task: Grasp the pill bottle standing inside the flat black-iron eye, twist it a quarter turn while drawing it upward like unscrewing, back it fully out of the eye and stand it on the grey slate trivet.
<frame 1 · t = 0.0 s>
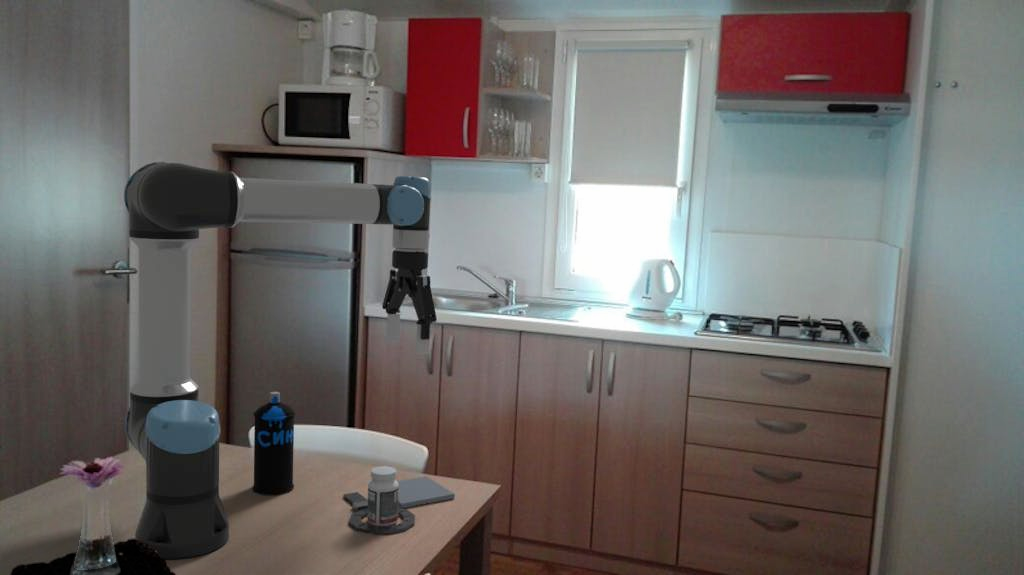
hand: (407, 348, 183), 28 cm above the table, fingers open, 13 cm apart
slate trivet: (414, 493, 175), on the table
pill bottle: (382, 522, 160), resting in iron eye
aerosol can: (273, 489, 174), on the table
iron eye: (382, 521, 160), on the table
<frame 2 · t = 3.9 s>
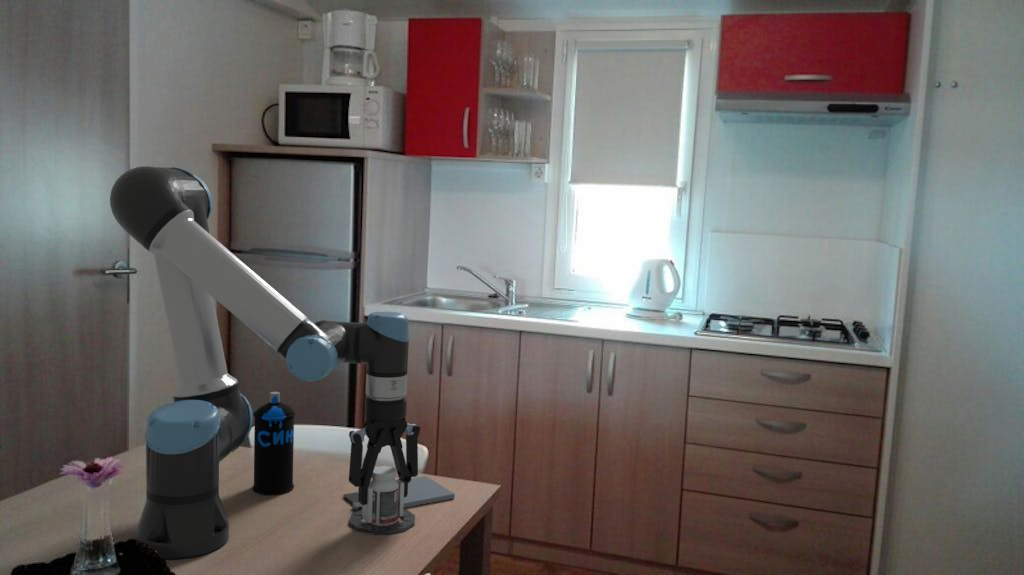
hand: (382, 516, 160), 1 cm above the table, fingers closed on pill bottle, 6 cm apart
pill bottle: (382, 522, 160), resting in iron eye, touching gripper
everything else where it was.
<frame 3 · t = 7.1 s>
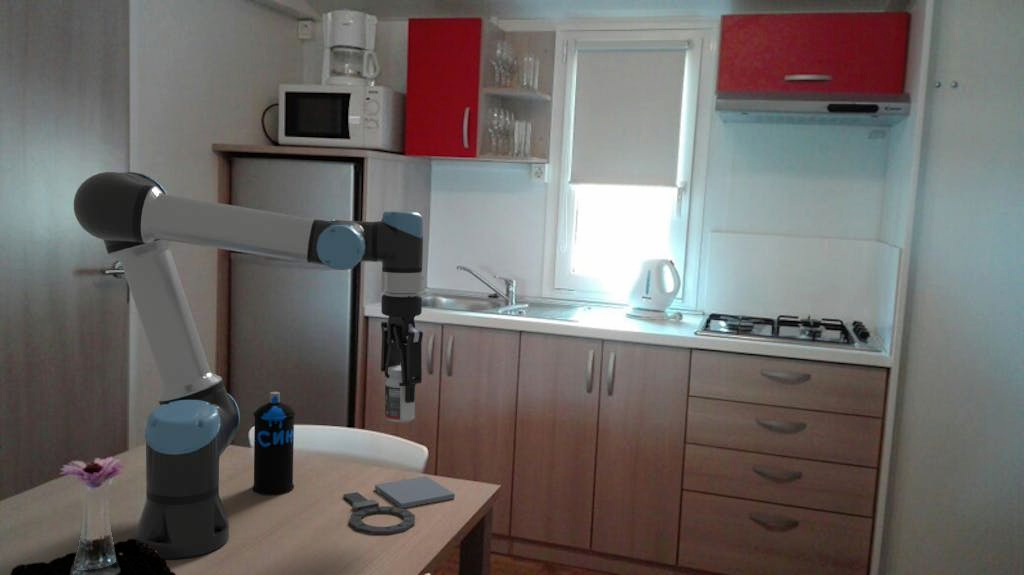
hand: (400, 414, 162), 19 cm above the table, fingers closed on pill bottle, 6 cm apart
pill bottle: (400, 419, 163), point 18 cm above the table, touching gripper
everything else where it was.
when the fingers open (4 cm above the table, at t = 10.8 s): pill bottle drops 2 cm, resting on slate trivet.
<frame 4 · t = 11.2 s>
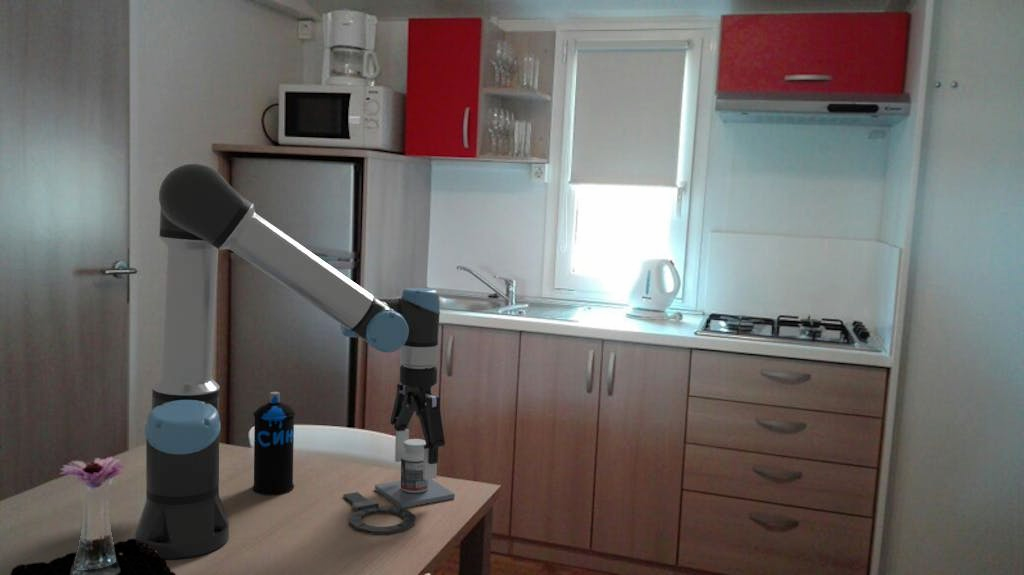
hand: (415, 469, 174), 5 cm above the table, fingers open, 11 cm apart
pill bottle: (414, 490, 175), point 1 cm above the table, touching slate trivet
everything else where it was.
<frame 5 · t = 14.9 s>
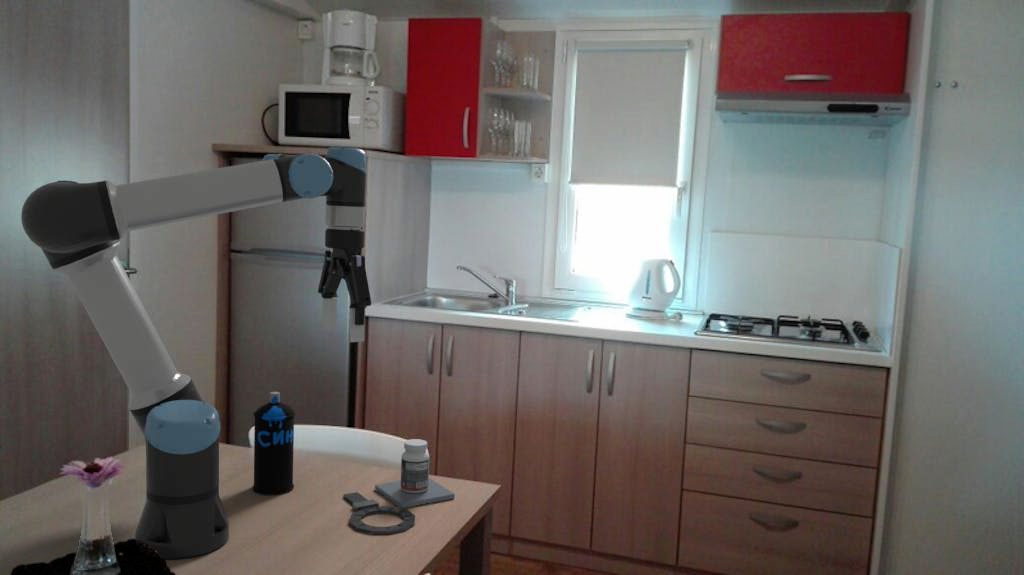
hand: (342, 335, 168), 33 cm above the table, fingers open, 13 cm apart
nothing on the table moved.
at the end: pill bottle inside the target area on the slate trivet (0.0 cm from its centre), point 0.8 cm above the slate trivet's base; pill bottle tilted 0°; the gripper is holding nothing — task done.
